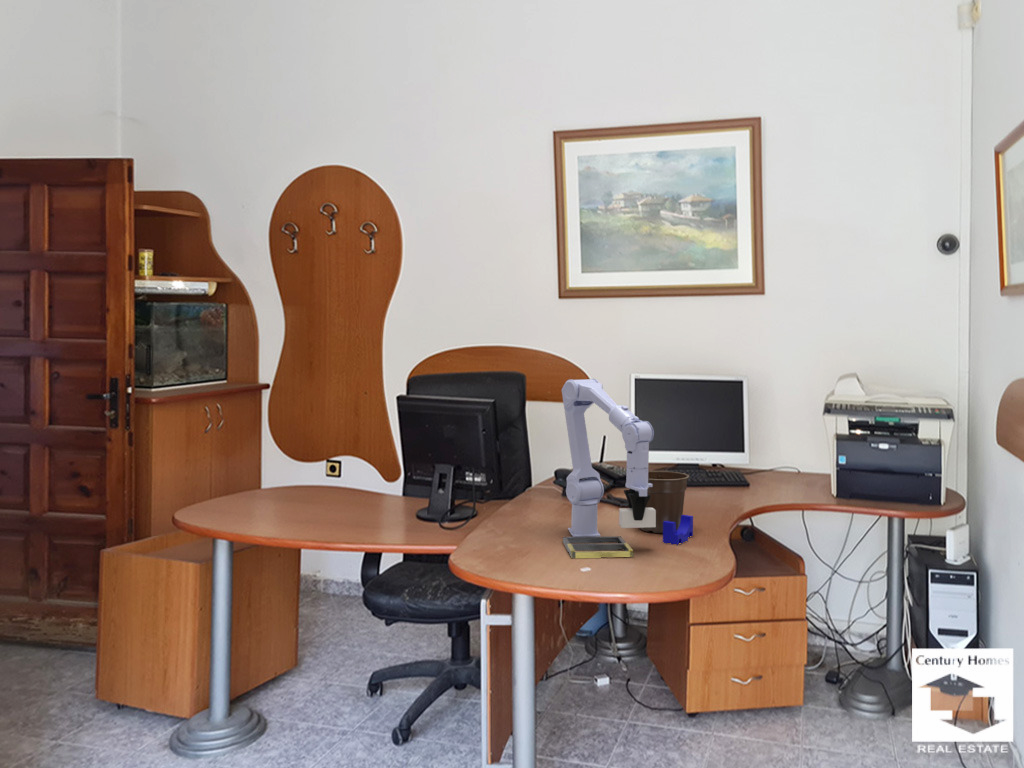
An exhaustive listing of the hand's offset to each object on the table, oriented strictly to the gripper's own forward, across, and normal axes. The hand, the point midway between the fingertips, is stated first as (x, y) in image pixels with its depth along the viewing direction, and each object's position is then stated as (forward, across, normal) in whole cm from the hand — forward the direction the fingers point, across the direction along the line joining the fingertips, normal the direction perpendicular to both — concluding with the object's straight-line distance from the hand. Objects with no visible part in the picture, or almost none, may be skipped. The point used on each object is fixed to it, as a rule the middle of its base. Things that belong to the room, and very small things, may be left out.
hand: (636, 518), depth 234 cm
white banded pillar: (+2, 0, 0) cm, 2 cm away
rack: (+8, 0, +10) cm, 13 cm away
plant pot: (+9, +23, -12) cm, 28 cm away
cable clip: (+9, +10, -15) cm, 20 cm away
